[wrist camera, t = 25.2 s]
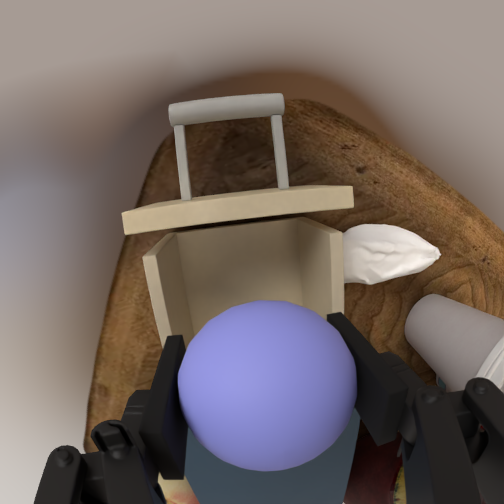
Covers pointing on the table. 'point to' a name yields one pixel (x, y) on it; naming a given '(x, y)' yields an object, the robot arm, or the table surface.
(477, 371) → the coffee cup
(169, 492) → the apple
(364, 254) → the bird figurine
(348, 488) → the vase
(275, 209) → the drawer
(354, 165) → the table surface
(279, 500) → the cabinet
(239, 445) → the sphere
